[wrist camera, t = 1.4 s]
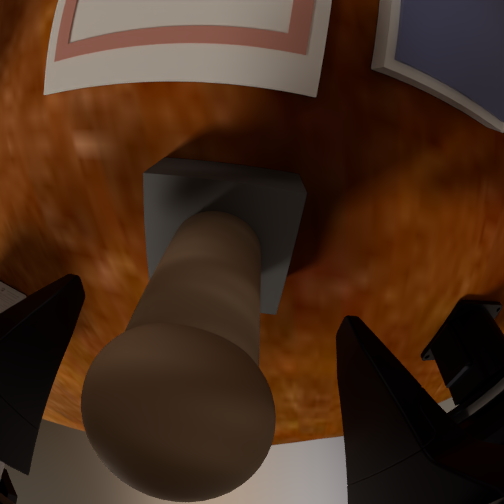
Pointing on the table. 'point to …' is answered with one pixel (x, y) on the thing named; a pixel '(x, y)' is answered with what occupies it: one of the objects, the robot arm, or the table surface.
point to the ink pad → (446, 52)
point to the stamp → (197, 332)
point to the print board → (188, 43)
